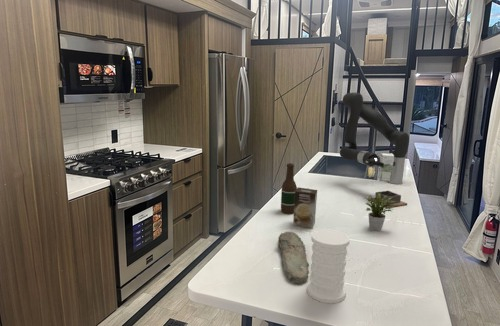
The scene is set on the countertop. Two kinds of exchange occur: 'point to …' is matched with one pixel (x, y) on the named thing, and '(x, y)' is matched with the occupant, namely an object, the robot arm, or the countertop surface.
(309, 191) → the coffee box
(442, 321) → the countertop surface
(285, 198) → the beer bottle
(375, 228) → the house plant
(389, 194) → the collar block
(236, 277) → the countertop surface
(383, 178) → the syrup box
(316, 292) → the decorative container
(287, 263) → the elongated rock
